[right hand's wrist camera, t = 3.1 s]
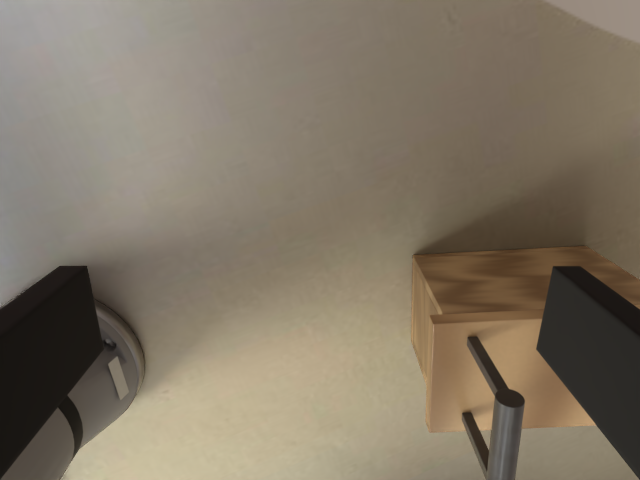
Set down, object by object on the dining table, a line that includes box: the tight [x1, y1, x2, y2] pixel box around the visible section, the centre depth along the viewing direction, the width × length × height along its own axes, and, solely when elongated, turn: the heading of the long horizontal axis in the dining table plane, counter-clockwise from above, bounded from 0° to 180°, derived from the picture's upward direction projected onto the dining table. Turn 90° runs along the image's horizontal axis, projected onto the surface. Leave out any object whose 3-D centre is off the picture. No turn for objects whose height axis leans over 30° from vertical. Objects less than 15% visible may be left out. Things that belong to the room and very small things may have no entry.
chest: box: [411, 246, 640, 385], centre depth 36 cm, size 16×9×10 cm, turn 93°
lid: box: [426, 305, 640, 480], centre depth 27 cm, size 16×9×8 cm, turn 93°
